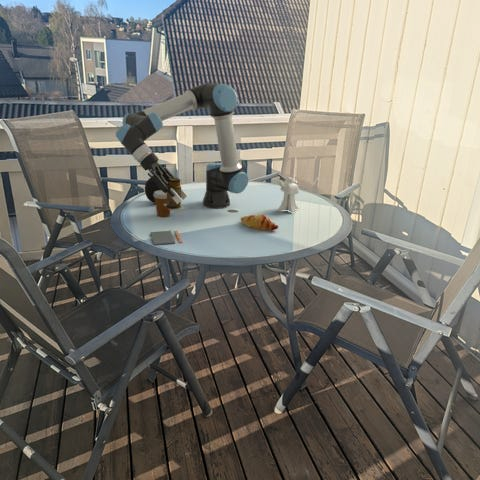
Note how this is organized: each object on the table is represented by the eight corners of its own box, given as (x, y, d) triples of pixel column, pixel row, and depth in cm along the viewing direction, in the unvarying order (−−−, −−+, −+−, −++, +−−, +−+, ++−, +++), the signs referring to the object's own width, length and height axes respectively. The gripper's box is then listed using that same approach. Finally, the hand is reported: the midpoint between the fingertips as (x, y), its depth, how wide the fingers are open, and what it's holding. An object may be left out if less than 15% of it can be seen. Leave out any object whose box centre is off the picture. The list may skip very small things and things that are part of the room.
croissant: (237, 230, 204) (233, 218, 199) (247, 216, 209) (243, 205, 204) (274, 239, 194) (271, 227, 188) (284, 225, 199) (281, 213, 193)
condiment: (179, 203, 182) (179, 176, 177) (185, 209, 175) (185, 181, 170) (163, 204, 179) (162, 177, 174) (168, 210, 172) (168, 182, 167)
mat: (170, 231, 189) (170, 230, 189) (175, 243, 177) (175, 242, 176) (150, 233, 186) (150, 232, 186) (154, 245, 174) (154, 243, 174)
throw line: (177, 231, 190) (177, 230, 190) (182, 242, 177) (182, 242, 177) (174, 231, 189) (174, 230, 189) (179, 243, 177) (179, 242, 177)
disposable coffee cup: (169, 219, 205) (168, 195, 200) (151, 217, 206) (150, 193, 202) (175, 213, 213) (175, 190, 209) (158, 211, 215) (157, 189, 211)
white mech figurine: (285, 215, 217) (287, 182, 210) (273, 208, 228) (275, 176, 221) (304, 213, 222) (307, 180, 215) (291, 206, 233) (294, 174, 226)
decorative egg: (172, 203, 228) (172, 177, 223) (153, 207, 220) (152, 180, 214) (159, 198, 236) (158, 172, 231) (141, 202, 228) (139, 175, 222)
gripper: (149, 159, 183) (184, 199, 186) (129, 167, 165) (168, 211, 168) (160, 148, 180) (195, 189, 183) (141, 155, 162) (180, 200, 165)
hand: (182, 199), depth 175 cm, fingers closed on condiment, 6 cm apart
